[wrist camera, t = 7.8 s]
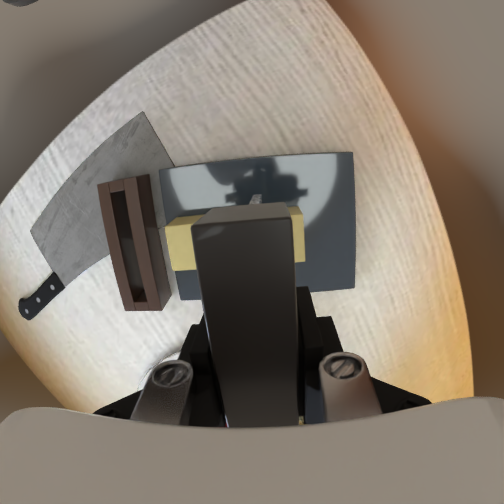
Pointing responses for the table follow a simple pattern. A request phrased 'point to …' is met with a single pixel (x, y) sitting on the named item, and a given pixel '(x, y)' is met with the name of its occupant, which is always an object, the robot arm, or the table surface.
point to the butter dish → (275, 190)
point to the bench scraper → (251, 310)
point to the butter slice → (298, 233)
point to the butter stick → (181, 242)
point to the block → (134, 243)
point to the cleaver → (92, 207)
